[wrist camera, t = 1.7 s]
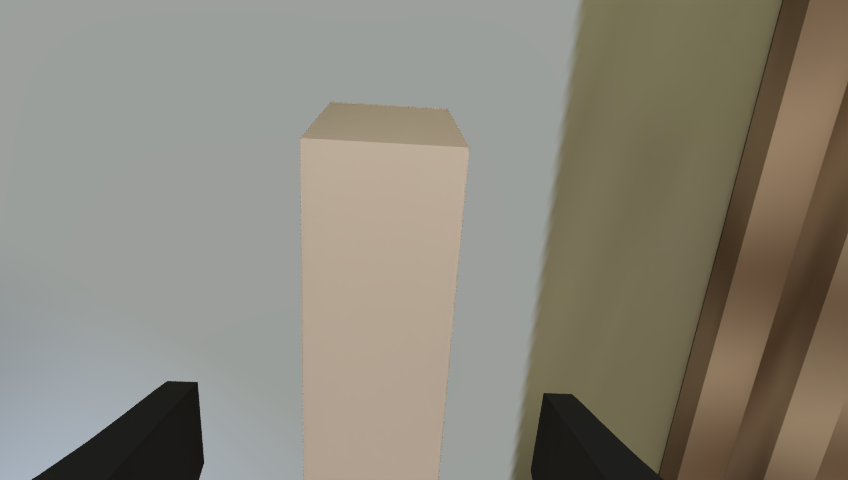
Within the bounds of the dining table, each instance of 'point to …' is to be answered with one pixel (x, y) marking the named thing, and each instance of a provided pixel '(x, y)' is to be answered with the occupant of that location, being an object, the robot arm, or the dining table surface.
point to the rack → (779, 279)
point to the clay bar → (378, 287)
